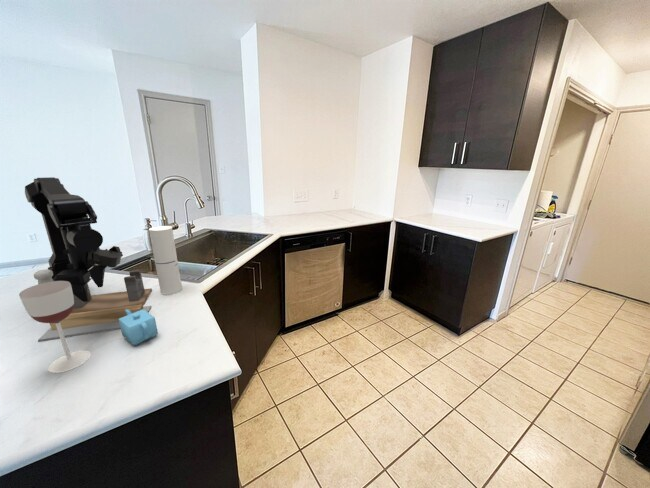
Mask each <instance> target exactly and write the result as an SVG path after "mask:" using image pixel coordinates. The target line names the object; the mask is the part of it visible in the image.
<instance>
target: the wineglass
mask: <svg viewBox="0 0 650 488" xmlns="http://www.w3.org/2000/svg"><path fill="white" fill-rule="evenodd" d="M18 296H19V298H20V300H21V303H22V305H23V307H24V309H25V311H26V312H27V314H28V316H29V317H31V318H32V319H33V320H35V322H39V323H42V324H50V323H55V324H56V327H57V330H58V333H59V336H60V338H59V339H60V342H61V344H62V347H63V350H64V353H65V355H63V356H61V357H59V358H57V359H56V360H54V361H53V362H52V363H51V364H50V365H49V367H48V371H49V372H50V373H52V374H53V373H54V374H57V373H65V372H68V371H71V370H72V369H76V368H78V367H80V366H82V365H83V364H84V363H86V362H87V361H88V360H89V359H90V357H91V352H90V351H89V350H76V351H72V352H70V349H69V345H68V342H67V339H66V337H65V336H64V333H63V330H62V327H61V324H60V321H62V320H63V319H65V318H66V317H67V316H69V315H70V313H71V312H72V310H73V307H74V297H73V291H72V287H71V283H70V282H68V281H52V282H46V283H42V284H38V283H37V284H35V285H33V286H30V287H27V288H25V289H23V290H21V291H20V292H19V293H18Z"/></svg>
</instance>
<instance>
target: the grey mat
mask: <svg viewBox="0 0 650 488" xmlns="http://www.w3.org/2000/svg"><path fill="white" fill-rule="evenodd" d="M143 308H144V310H145V311H147V312H148V313H149V312H150V310H151V309H152V305H145V306H143ZM149 314H150V313H149ZM62 330H63V333H64V336H65V338H70V337H78V336H83V335H84V336H85V335H90V334H97V333H104V332H109V331H115V330H121V327H120V323H119V321H112V322H106V323H99V324H92V325H85V326H79V327H72V328H65V329H62ZM58 339H60V336H59V333H58V330H52V329H51V327H50V328H49V329H48V330H47V331H46V332H45V333H43V334H42V335H41V336H40V337H39V338H38V339H37V342H38V343H39V342H45V341H46V342H47V341H51V340H58Z"/></svg>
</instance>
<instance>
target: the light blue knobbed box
mask: <svg viewBox="0 0 650 488" xmlns="http://www.w3.org/2000/svg"><path fill="white" fill-rule="evenodd" d="M125 311H126V313H127V316H124V317H122V318H119V323H120V327H121V329H120V331H121V334H122V336H123V337H124V339H126V340H127V341H128V342H129V343H130V344H132V346H137V345H139V344H140V343H142V342H144V341H146V340H148V339H152V338H154V337H155V336H157V335H158V334H159V332H158V328H157V322H156V317H155V316H154V315H152V314H151V313H148V312H147V311H145V310H144V309H142V310H140V311H137V312H135V313H131V312H130V310H128V309H126V310H125Z"/></svg>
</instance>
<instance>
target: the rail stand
mask: <svg viewBox="0 0 650 488" xmlns="http://www.w3.org/2000/svg"><path fill="white" fill-rule="evenodd" d="M141 272H142V271H141V270H140V269H139V270H138V269H136V270H130V271H129V276H125V277H123V281H124V285H125V289H126V291H117V292H109V293H101V294H91V291H90V287H89V282H88V283H87V290H88V301H86V302H83V301H81V300H80V299H79V298H78V297H76V296H75V295H74V294H73V297H74V307H73V310H72V312H71V313H70V314H72V313H80V312H87V311H95V310H103V309H110V308H118V307H125V306H133V305H140V304H143V306H144V305H145V303H146V301H147V300H148V298H149V296H150V295H151V293H152V291H153V289H152V287H151V288H145V286H144V281H143V277H142V273H141Z"/></svg>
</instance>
